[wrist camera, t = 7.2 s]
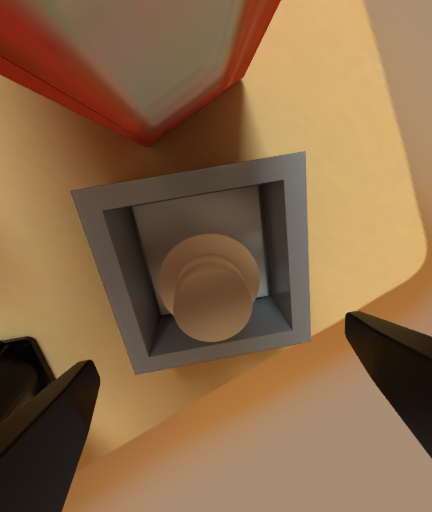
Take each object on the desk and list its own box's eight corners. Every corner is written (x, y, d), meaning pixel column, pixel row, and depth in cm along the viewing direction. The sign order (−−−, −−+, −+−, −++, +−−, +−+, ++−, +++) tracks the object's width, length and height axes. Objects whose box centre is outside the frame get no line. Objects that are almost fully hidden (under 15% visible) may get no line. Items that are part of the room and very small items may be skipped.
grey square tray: (282, 300, 21) (310, 341, 16) (150, 325, 21) (135, 374, 16) (272, 158, 17) (305, 151, 12) (108, 185, 17) (70, 190, 12)
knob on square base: (266, 292, 20) (310, 366, 12) (162, 311, 20) (141, 398, 12) (255, 184, 17) (304, 193, 9) (134, 205, 17) (82, 231, 9)
